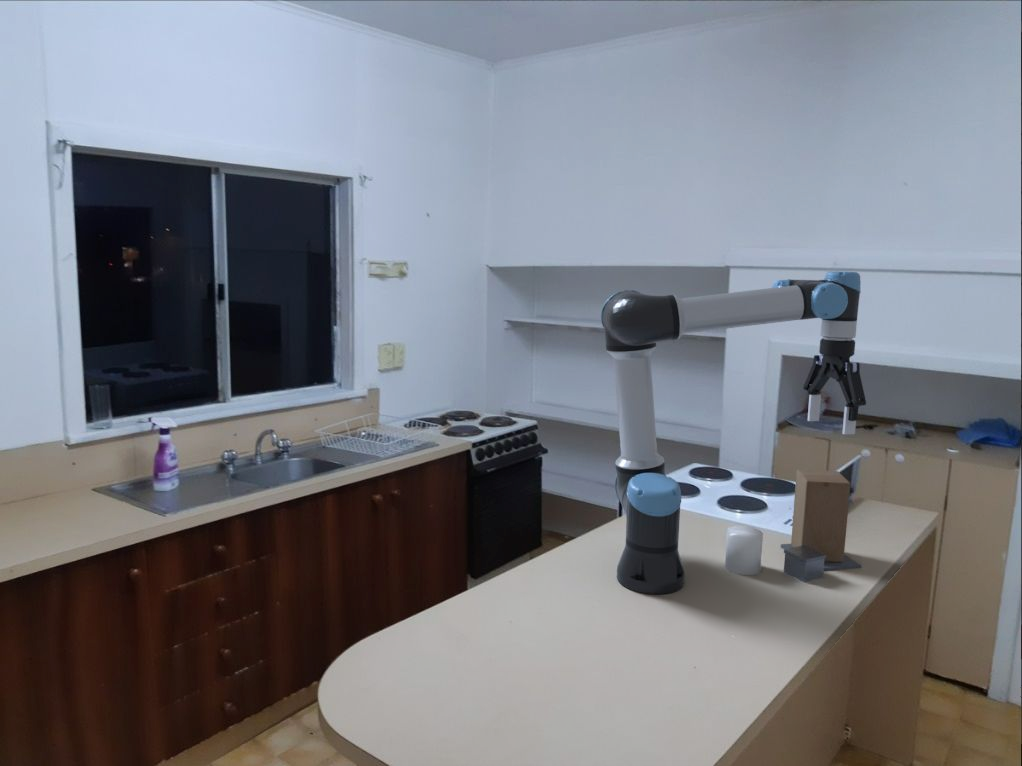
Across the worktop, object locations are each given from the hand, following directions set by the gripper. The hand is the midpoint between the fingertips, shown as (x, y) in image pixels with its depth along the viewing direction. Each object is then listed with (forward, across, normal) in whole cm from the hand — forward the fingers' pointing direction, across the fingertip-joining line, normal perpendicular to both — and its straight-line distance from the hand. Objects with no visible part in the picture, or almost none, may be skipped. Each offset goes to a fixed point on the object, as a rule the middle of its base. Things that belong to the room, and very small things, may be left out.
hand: (830, 427), depth 175 cm
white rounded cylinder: (+33, -2, +22) cm, 39 cm away
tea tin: (+33, -8, +10) cm, 35 cm away
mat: (+33, 0, 0) cm, 33 cm away
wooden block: (+32, 0, +1) cm, 32 cm away
